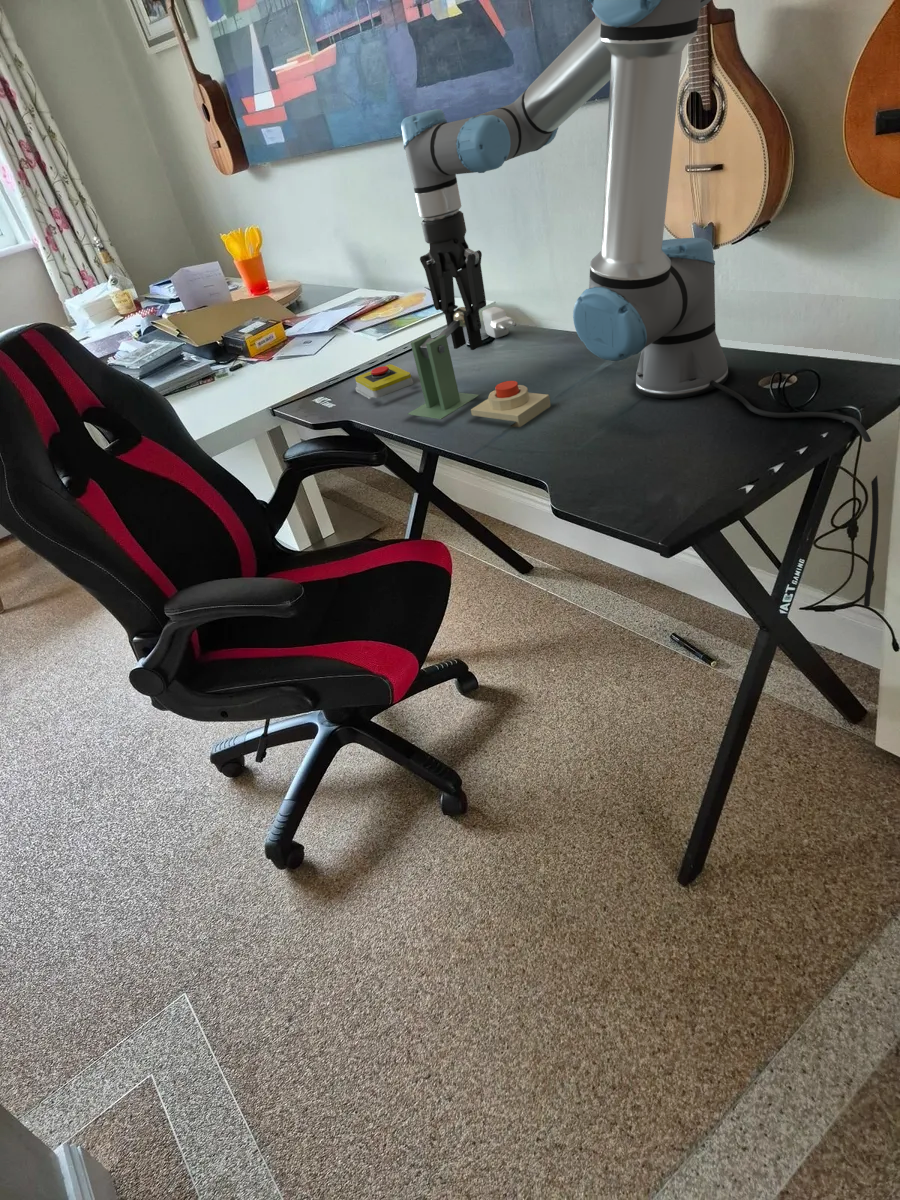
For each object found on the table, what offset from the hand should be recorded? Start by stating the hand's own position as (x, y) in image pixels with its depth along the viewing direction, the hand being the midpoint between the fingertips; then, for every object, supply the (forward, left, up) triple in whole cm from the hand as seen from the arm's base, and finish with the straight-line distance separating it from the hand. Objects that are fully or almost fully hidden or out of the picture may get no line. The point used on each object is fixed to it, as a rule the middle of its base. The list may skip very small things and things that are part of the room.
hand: (468, 346), depth 149 cm
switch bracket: (0, +10, -9) cm, 13 cm away
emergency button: (+22, +5, -9) cm, 24 cm away
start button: (-15, +8, -5) cm, 18 cm away
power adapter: (+16, -27, -9) cm, 33 cm away
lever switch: (0, +4, +3) cm, 5 cm away
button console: (-15, +8, -9) cm, 19 cm away
